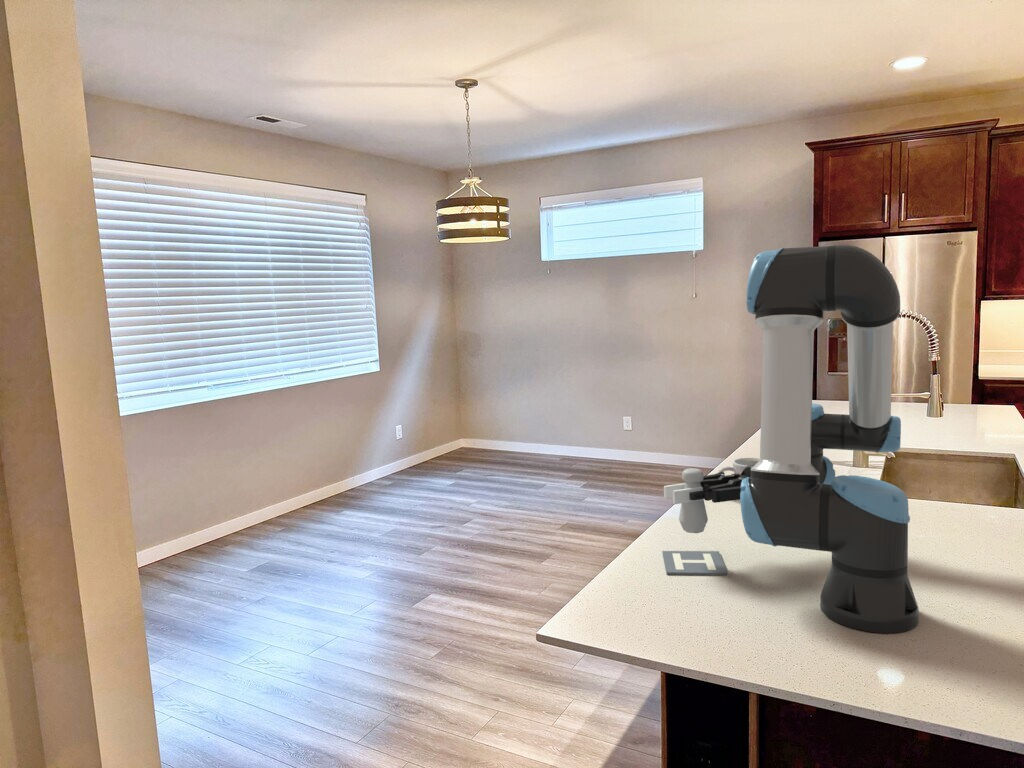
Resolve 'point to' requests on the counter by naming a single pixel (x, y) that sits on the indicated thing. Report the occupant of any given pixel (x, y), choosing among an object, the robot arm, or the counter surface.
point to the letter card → (694, 563)
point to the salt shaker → (693, 504)
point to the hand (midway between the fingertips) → (669, 495)
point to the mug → (740, 465)
